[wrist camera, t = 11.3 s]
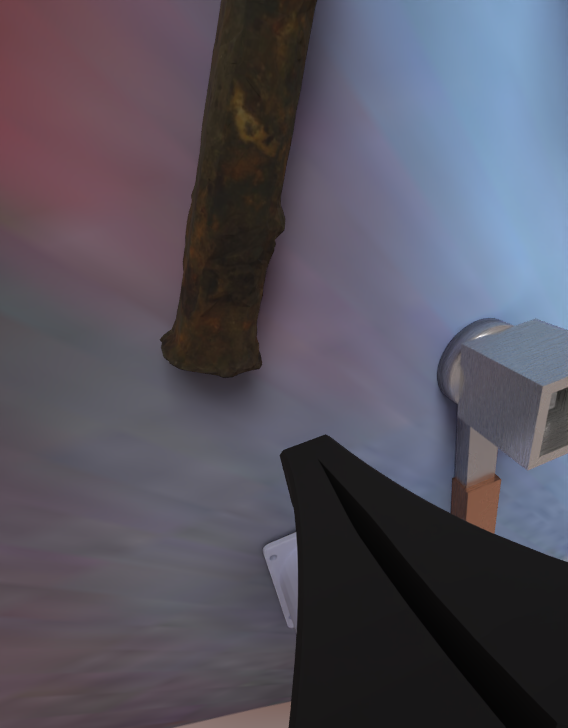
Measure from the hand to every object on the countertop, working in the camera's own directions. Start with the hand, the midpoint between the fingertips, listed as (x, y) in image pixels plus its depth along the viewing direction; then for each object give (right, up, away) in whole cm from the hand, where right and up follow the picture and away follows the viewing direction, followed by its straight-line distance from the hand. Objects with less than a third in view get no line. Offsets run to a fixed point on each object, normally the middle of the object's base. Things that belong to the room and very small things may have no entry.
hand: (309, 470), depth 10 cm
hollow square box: (+12, +3, +12) cm, 17 cm away
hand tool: (-3, +12, +4) cm, 14 cm away
